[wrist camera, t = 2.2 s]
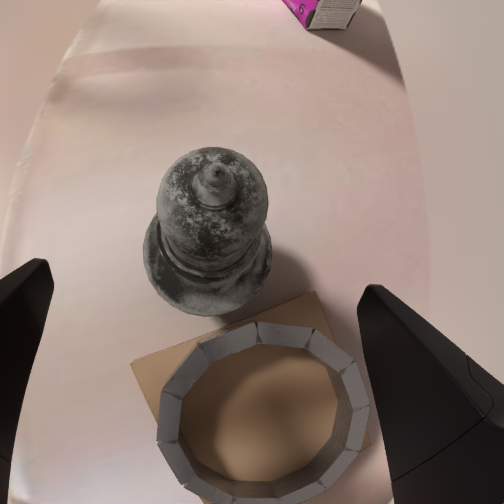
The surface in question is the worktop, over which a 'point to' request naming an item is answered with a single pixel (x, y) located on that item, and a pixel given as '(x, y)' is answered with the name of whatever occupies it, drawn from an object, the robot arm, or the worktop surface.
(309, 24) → the candy bar box
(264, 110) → the worktop surface
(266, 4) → the worktop surface
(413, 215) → the worktop surface
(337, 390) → the socket base
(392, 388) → the robot arm
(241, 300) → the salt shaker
